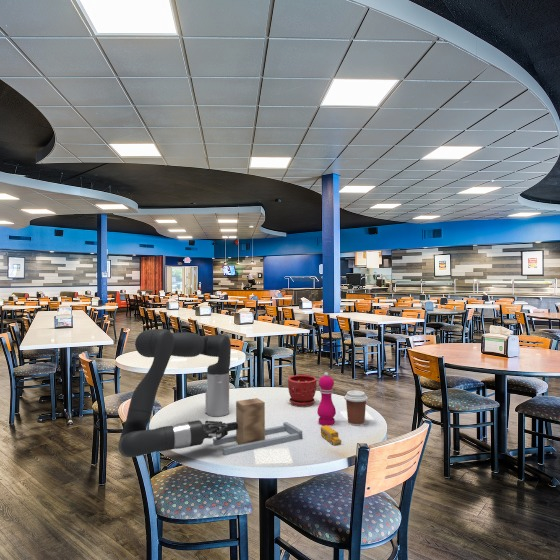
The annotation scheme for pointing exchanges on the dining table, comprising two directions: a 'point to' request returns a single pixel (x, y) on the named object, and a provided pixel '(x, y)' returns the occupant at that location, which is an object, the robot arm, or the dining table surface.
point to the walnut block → (250, 421)
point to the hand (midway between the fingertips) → (237, 425)
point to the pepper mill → (326, 401)
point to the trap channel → (292, 430)
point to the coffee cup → (356, 407)
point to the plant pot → (302, 390)
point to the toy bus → (330, 435)
